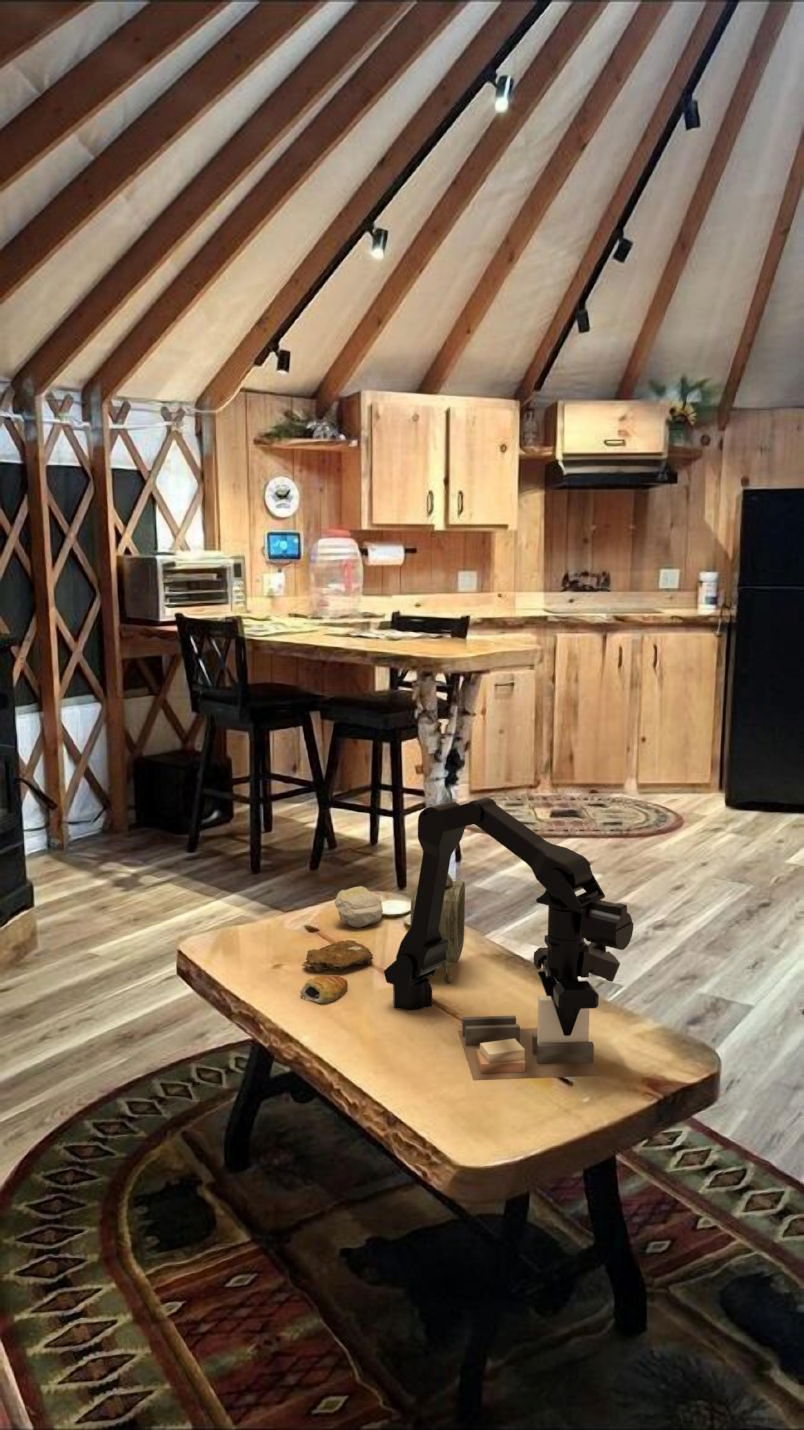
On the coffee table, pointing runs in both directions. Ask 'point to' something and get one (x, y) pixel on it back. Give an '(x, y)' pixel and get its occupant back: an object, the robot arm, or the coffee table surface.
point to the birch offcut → (502, 1051)
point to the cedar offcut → (499, 1065)
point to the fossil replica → (358, 907)
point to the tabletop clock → (450, 921)
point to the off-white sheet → (551, 1027)
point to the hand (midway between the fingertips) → (562, 1027)
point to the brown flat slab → (337, 956)
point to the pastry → (324, 988)
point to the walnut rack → (526, 1050)
